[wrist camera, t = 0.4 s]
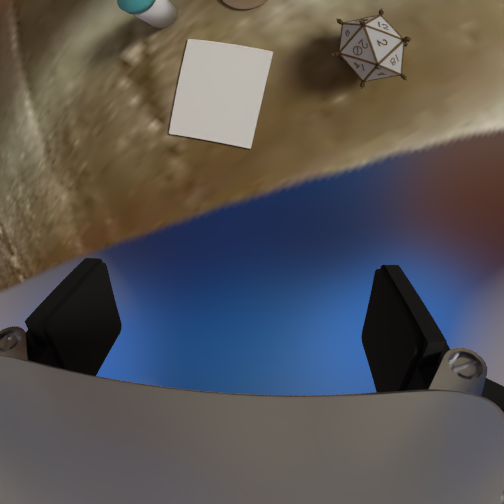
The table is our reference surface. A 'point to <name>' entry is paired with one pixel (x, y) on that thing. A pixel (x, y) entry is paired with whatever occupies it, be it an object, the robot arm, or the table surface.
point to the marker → (151, 11)
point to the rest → (244, 3)
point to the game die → (372, 48)
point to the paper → (220, 92)
